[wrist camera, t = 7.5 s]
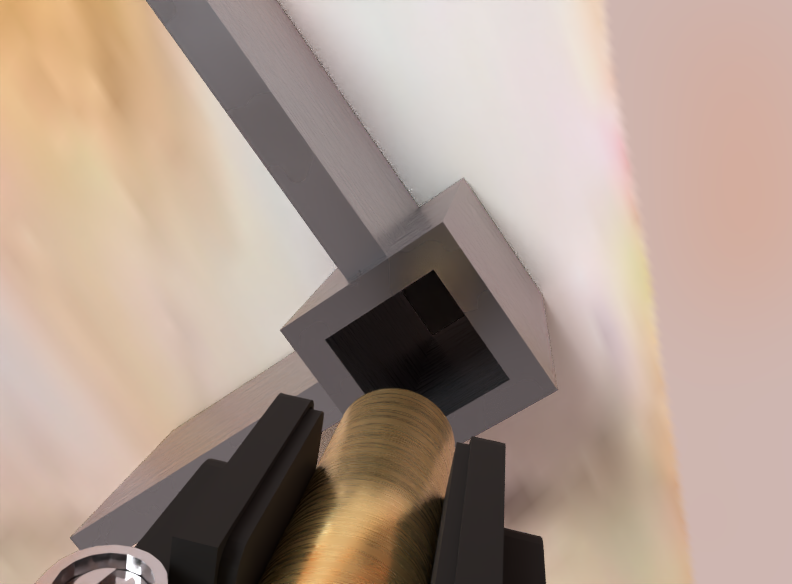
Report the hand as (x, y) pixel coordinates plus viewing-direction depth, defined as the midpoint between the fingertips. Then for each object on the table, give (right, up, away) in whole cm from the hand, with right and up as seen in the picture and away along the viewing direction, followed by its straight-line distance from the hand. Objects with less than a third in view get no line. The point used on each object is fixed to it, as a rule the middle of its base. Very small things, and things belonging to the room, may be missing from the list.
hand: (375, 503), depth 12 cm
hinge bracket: (-5, +5, +14) cm, 16 cm away
